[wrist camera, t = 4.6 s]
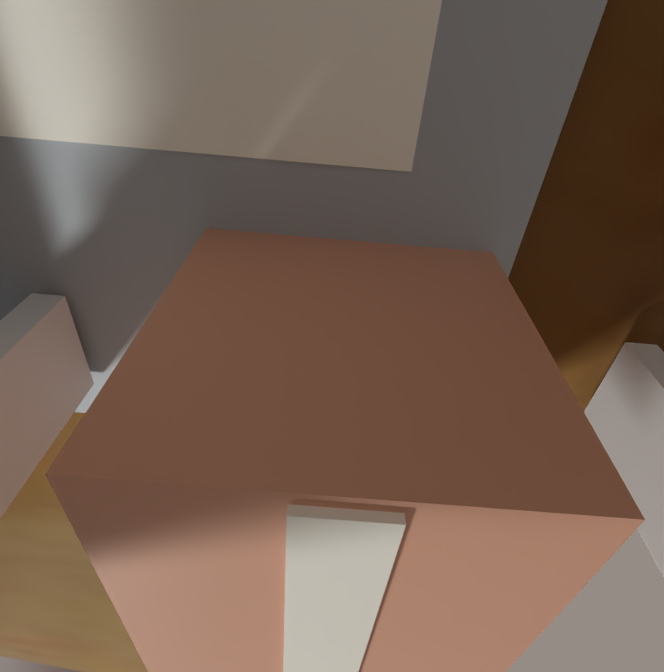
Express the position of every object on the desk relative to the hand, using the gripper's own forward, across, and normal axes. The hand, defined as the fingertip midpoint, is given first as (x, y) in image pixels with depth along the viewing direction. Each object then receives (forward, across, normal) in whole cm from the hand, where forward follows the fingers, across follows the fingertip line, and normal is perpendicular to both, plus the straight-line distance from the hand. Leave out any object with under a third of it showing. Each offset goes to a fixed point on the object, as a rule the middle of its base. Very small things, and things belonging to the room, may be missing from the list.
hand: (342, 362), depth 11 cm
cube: (0, 0, 0) cm, 0 cm away
